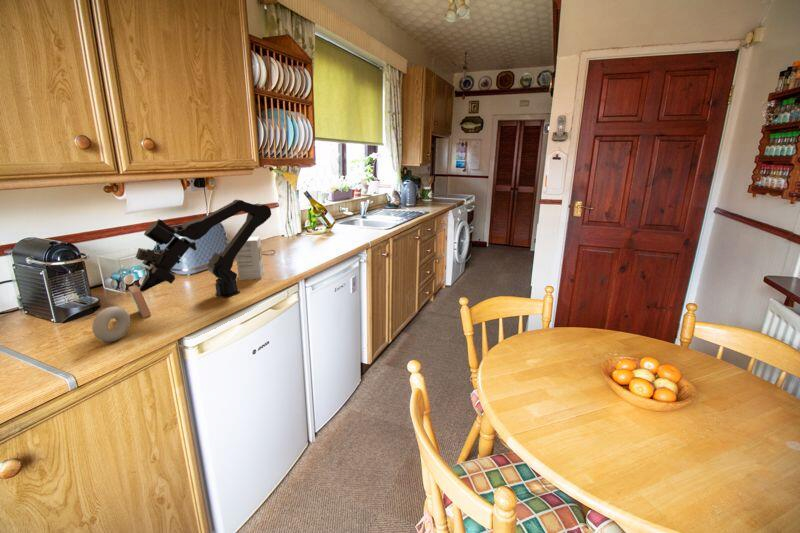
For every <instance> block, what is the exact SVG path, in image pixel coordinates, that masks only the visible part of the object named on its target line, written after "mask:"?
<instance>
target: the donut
mask: <svg viewBox="0 0 800 533" xmlns="http://www.w3.org/2000/svg"><path fill="white" fill-rule="evenodd" d="M113 319H115V326H114V327H113V328H112V329H110V328H109V323H110V321H111V320H113ZM92 322H93V323H92V333H93V335H94V336H95V338H96V339H97V340H98V341H102V342H104V343H113V342H117V341H118V340H120V339H122V338H123V337H124V336H125V335H126V334H127V333H128V331H129V329H130V327H131V326H130V325H131V316H130V314H129V313H128V311H127V310H126V309H124V308H123V307H121V306H110V307H109V306H108V307H106V308H104V309H102V310H101V311H99V313H97V314H96V316H95V318H94V319H93V321H92Z"/></svg>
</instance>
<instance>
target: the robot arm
mask: <svg viewBox="0 0 800 533" xmlns="http://www.w3.org/2000/svg"><path fill="white" fill-rule="evenodd" d="M240 212H243V213H247V214H246V217H245V218H246V219H245V221H244V223H243V224H242V226H241V227H240V228H239V229H238V230H237V232H236V234H235V235H234V236H233V237H232V239H231V240H230V242H229V243H228V244H227V246H226V247H225V248H224V249H223V251H221V252H220V253H217V252H214V254H213V255H212V257H211V258H210V259H208V260H207V261H208V263H207V270H208V272H209V273H211V275H213V276H215V278H217V279H215V282H216V283H215V285H214V286H215V291H216V292H215V295H216V296H219V297H222V298H227V297H228V298H229V297H231V296H234V295H237V294H239V293H241V291H240V290H238V285H237V284H238V283H237V277H238V274H237V272H235V271H233V270H232V268H233V266H234V265H233V264H234V261H235V259H236V255H237V254H238V252H239V251H240V250H241V248H242V247H243V246H244V244H245V243H246V242H247V240H248V239H249V237H252V235H253V233H254V232H255V231H256V229H258V227H260V226H261V225H263V224H265V222H267V221H268V220H269V219H270V218H271V217H272V210H271V208H270V207H269V206H268V205H267V204H263V203H262V204H261V203H254V204H253V203H250V202H247V201H244V200H243V199H234V200H233V201H231V202H230V203H228V204H226V205H224V206H222V207H221V208H219V209H216V210H215V211H213V212H211V213H209V214H207V215H205V216H203V217H199V218H195V219H191V220H189V221H186V222H184V223H182V225H180V226H176V227H175V226H174V227H171V226H169V225H168V224H166V223H165V222H164V220H162V219H160V218H159V219H157V220H156V221H155V222H153V223H152V224H151V225H150V224H149V226H148V227H147V229H146V230H145V231H144V234H143V235H144V236H145V237H147V238H148V239H150V240H152V241H153V242H155V243H156V244H158V245H159V246H162V245H166V246H165V248H164V249H159V251H155V250H153V249H149V248H147V249H145V248H141V247H139V248H138V249H137V252H136V254H135V258H136V259H137V260H138V261H139V260H140V261H142V264H143V265H144V266H145V267H144V269H145V270H144V271H145V276H144V278H143V280H142V283H141V285H140V287H139V289H140V290H141V293H144V292H146V291H147V290H149V289H152V288H153V287H155V286H157V285H160V284H162V283H164V282H168V283H169V284H172V283H173V282H175V280H176V275H175V274H174V273H172V272H173V271H172V269H173V268H174V267H175V266H176V264H180V263H181V261H180V260H181V258H182V257H184V255H185V254H186V253H187V252H188V250H189V249H191V250H192V251H193V250H194V251H197V247H196V246H197V245H196V242H195V241H197V240H200V239H201V238H203V237H204V236H205V235H206V234H207V233H208V232H210V230H211V229H212V228H213V227H214V226H216V225H218V224H221V223H222V222H224V221H226V220H227V219H229V218H231V217H233V216H235V215H237V214H239V213H240ZM175 234H176V235H177V236H176V235H175ZM178 236H179V237H181V238H179V237H178ZM188 239H189V240H188ZM190 240H191V241H190ZM146 266H147V267H146Z"/></svg>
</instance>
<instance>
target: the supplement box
mask: <svg viewBox="0 0 800 533" xmlns="http://www.w3.org/2000/svg"><path fill="white" fill-rule="evenodd" d="M261 243H262V242H261V236H250V237H249V239H248V240H247V242H246V243H245V244H244V246H243V247H242V248H241V250H240V251H239V252H238V254H237V255H236V256H235V259H236V260H235V261H236V266H237V273H238V274H237V276H238V279H239V281H246V280H260V279H261V280H262V278H263V276H264V274H265V269H264V261H263V253H262V244H261Z"/></svg>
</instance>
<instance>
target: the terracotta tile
mask: <svg viewBox="0 0 800 533" xmlns="http://www.w3.org/2000/svg"><path fill="white" fill-rule="evenodd" d="M128 291H129V293H130V295H131V297H132V299H133V302H134V304H135V306H136V309H137V311H138V312H139V314H140V316H141V317H142V318H144V319H145V318H147V317H149V316H152V313H151V311H150V308H149V307H148V304H147V301H146V300H145V297H144V295H143V292H141V290H140V287H138V285H137V284H133V285H132V286H128Z"/></svg>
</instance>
